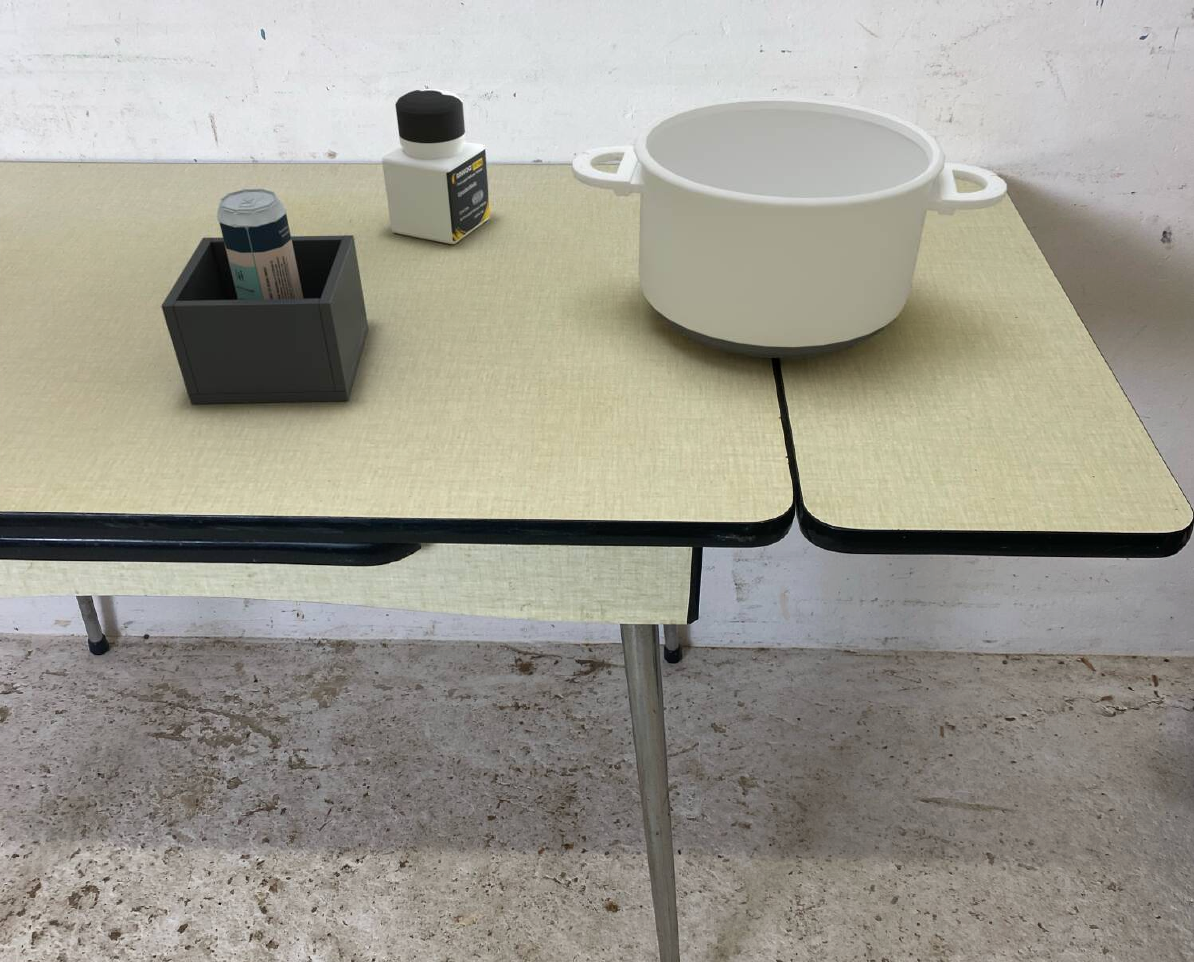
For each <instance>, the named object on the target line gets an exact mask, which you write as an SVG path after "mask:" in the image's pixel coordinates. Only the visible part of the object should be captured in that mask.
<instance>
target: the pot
mask: <svg viewBox="0 0 1194 962" xmlns="http://www.w3.org/2000/svg"><path fill="white" fill-rule="evenodd" d="M619 161H620V163H619V166H618V168H617V171H616V172H615V173H614V172H613V173H612V172H605V171H601V170H598V169H596V168H594V167H596V166H598V165H600V164H603V163H609V162H619ZM571 172H572V174H573V178H574V179H575V180H577V181H578V182H580V183H581V184H584V185H586V186H589V187H593V188H597V189H602V190H603V189H604V190H612V191H613V192H614V194H615V195H616V196H617V197H630V195H631V194H640V197H639V204H640V205H639V233H638V234H639V235H638V236H639V238H638V244H639V245H638V278H639V279H638V280H639V283H640V284H639V285H640V288H641V291H642V294H643V297H644V298H645V299H646V301H647V302H648V304H649V305H650V308H651V309H652V310H653V311H654V312H655V314H656V315H657V316H658V318H660V319H661V320H662V321H663V322H665V323H666V324H667V325H669V326H670V327H671V328H673V329H674V330H675V331H676V332H678V333H679V334H681V335H682V336H684V337H686V338H688V339H690V340H693V341H694V342H696V343H698V344H701V345H703V346H707V347H710V348H713V349H715V350H718V351H722V352H727V353H731V354H736V355H740V356H747V357H757V358H765V359H800V358H813V357H818V356H823V355H824V356H825V355H829V354H830V355H831V354H834V353H837V352H841V351H844V350H847V349H851V348H853V347H855V346H857V345H859V344H861V343H864V342H865V341H867V340H868V339H870V338H873V337H875V336H876V335H878V334H879V333H881V332H882V331H883V330H884V329H886V328H887V327H888V326H889V325H890V324H891V323H892V322H893V321H894V320H895V318H897V317H898V316H899V315H900V313H901V312H902V310H903V308H904V307H905V305H906V304H907V300H908V298H909V296H910V294H911V290H912V285H913V280H914V275H915V270H916V266H917V261H918V257H919V256H918V255H919V252H920V246H921V241H922V237H923V231H924V227H925V221H926V218H927V217H926V216H927V213H928V212H927V211H932V212H933V211H935V212H937V215H939V216H953V215H954V214H955V213H956V212H957V211H962V210H963V211H972V210H982V209H987V208H992V207H995V206H997V205H998V204H1000V203H1002V202H1003V200H1004V199H1005V197H1006V195H1007V191H1008V184H1007V183H1006V181H1005V180H1004V179H1003V178H1002V177H1000V176H999V175H998V173H995V172H993V171H991V170H989V169H987V168H983V167H979V166H976V165H970V164H964V163H956V162H955V163H954V162H946V154H945V152H944V150H943V147H942V145H941V144H940V142H939V141H938V140H937V139H936V138H935V137H934V136H933V135H932V134H930V133H929V132H928V131H926V130H924V129H923V128H921V127H919V126H917V125H916V124H915V123H913V122H910V121H908V120H906V119H904V118H901V117H898V116H897V115H894V114H892V113H889V112H885V111H881V110H878V109H874V108H871V107H866V106H863V105H858V104H852V103H848V102H843V101H842V102H841V101H835V100H828V99H821V98H810V97H809V98H808V97H795V96H751V97H735V98H726V99H718V100H712V101H707V102H706V101H705V102H701V103H696V104H692V105H689V106H686V107H685V106H684V107H681V108H679V109H674V110H672V111H670V112H667V113H665V114H663V115H661V116H659V117H655V119H653V120H651V121H650V122H649V123H647V124H646V125H645V126H643V128H642V129H641V130H640V132H639V133H638V134H637V135H636V137H635V139H634V143H633V145H611V146H609V145H608V146H602V147H601V146H600V147H596V148H591V149H588V150H585V151H583V152H582V153H581V154H580V155H577V156H576V157H575V158H574V159H573V161H572V165H571ZM955 180H960V181H964V182H969V183H972V184H975V185H977V186H979V187H981V188H982V189H981V190H978V191H973V192H958V189H957V185H956V181H955Z"/></svg>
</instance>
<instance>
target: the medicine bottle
mask: <svg viewBox="0 0 1194 962" xmlns="http://www.w3.org/2000/svg"><path fill="white" fill-rule="evenodd" d="M463 102H464V101H463V99H462V98H461V97H460V96H459V95H458V94H456V93H453V92H451V91H449V90H446V89H441V88H421V89H416V90H412V91H410V92H407V93H405V94H403V95H402V96H400V97H399V98H398V99H397V101H396V102H395V113H396V121H397V122H396V123H397V129H398V137H399V144H400V147H399V148H396V149H395V150H393V151H392V152H390V153H388V154H386V155H385V156H383V157H382V159H381V163H382V170H383V171H382V172H383V176H384V177H383V178H384V184H385V192H386V199H387V206H388V215H389V221H390V228H391V231H392V233H394V234H399V235H404V236H407V237H414V238H419V239H423V240H427V241H428V240H429V241H434V242H439V243H444V244H448V245H456V244H457V243H458V242H460V241H461V240H462V239H464V238H465V237H467V236H468V235H469V234H470V233H472V232H473V231H475V230H476V229H478V228H479V227H480V226H481V225H483V224H484V223H485V222H487V221H488V220H489V219H490V218H491V211H490V209H491V208H490V197H489V182H488V167H487V154H486V153H487V152H486V146H485V145H484V144H482V143H475V142H469V141H466V140H467V139H466V127H465V115H464V103H463Z"/></svg>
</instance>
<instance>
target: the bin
mask: <svg viewBox="0 0 1194 962" xmlns="http://www.w3.org/2000/svg"><path fill="white" fill-rule="evenodd" d="M291 240H292V245H293V250H294V255H295V259H296V264H297V269H298V274H299V279H300V284H301V289H302V294H303V299H259V300H238V296H237V292H236V288H235V284H234V280H233V276H232V272H231V268H230V264H229V260H228V256H227V252H226V248H225V244H224V240H223V236H222V237H202V238H201V240H200V241H199V244H197V247H196V248H195V250H194V251H193V253H192V255H191V257H190V258H189V260H188V261H187V263H186V264H185V266H184V267H183V270H182V271H181V273H180V274H179V276H178V277H177V279H176V281H175V283H174V284H173V285H172V287H171V290H170V291H169V293H168V294H167V295H166V297H165V300H164V301H163V303H162V304H161V311H162V313H163V317H164V320H165V324H166V325H167V330H168V334H169V337H170V339H171V343H172V347H173V350H174V353H175V357H176V360H177V363H178V366H179V371H180V373H181V376H182V379H183V383H184V386H185V389H186V393H187V395H188V396H187V397H188V399H189V402H190V404H191V405H193V404H194V405H200V404H201V405H202V404H251V403H253V404H256V403H299V402H300V403H303V402H347V401H349V399H350V395H351V391H352V387H353V384H354V379H355V376H356V373H357V369H358V365H359V361H360V359H361V354H362V351H363V347H364V345H365V344H364V343H365V341H366V337H367V333H368V330H369V323H368V316H367V311H366V304H365V298H364V297H365V296H364V292H363V285H362V280H361V274H360V267H359V262H358V253H357V248H356V242H355V237H354V235H353V234H351V235H349V234H347V235H345V234H344V235H291Z"/></svg>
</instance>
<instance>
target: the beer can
mask: <svg viewBox="0 0 1194 962" xmlns="http://www.w3.org/2000/svg"><path fill="white" fill-rule="evenodd" d="M216 220H217V222H218V224H219V226H220V227H219V228H220V231H221V236H222V237H223V240H224V244H225V248H226V252H227V256H228V260H229V264H230V268H231V272H232V276H233V280H234V284H235V288H236V292H237V296H238V300H259V299H303V294H302V289H301V284H300V279H299V274H298V269H297V264H296V259H295V255H294V250H293V245H292V240H291V236H292V234H291V229H290V225H289V220H288V216H287V208H286V206H285V205H284V204H283V203H282V201H281V200H280V199H279V198H278V196H277V194H276V193H275V191H272V190H269V189H264V188H244V189H240V190H236V191H232V192H229V193H227V194H226V195H224V196H223V197H221V198H219V204H218V209H217V212H216Z"/></svg>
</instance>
